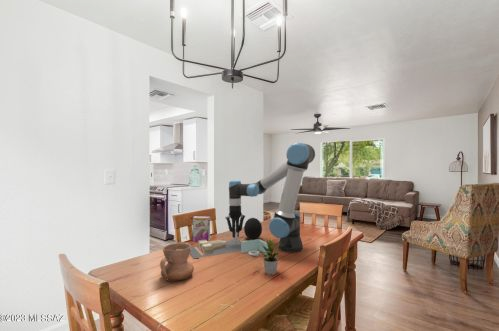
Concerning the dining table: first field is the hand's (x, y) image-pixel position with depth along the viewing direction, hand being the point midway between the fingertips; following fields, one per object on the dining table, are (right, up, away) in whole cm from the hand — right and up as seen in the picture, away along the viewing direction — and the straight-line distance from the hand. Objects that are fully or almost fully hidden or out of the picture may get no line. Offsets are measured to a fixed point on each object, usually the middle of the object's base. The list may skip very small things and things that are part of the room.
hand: (235, 242), depth 164 cm
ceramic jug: (-25, -3, -45) cm, 52 cm away
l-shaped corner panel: (+12, -3, -16) cm, 20 cm away
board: (-10, -3, -5) cm, 12 cm away
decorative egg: (+11, -3, +15) cm, 19 cm away
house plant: (+18, -3, -39) cm, 43 cm away
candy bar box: (-24, -3, +11) cm, 26 cm away
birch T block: (-13, -2, -6) cm, 15 cm away
